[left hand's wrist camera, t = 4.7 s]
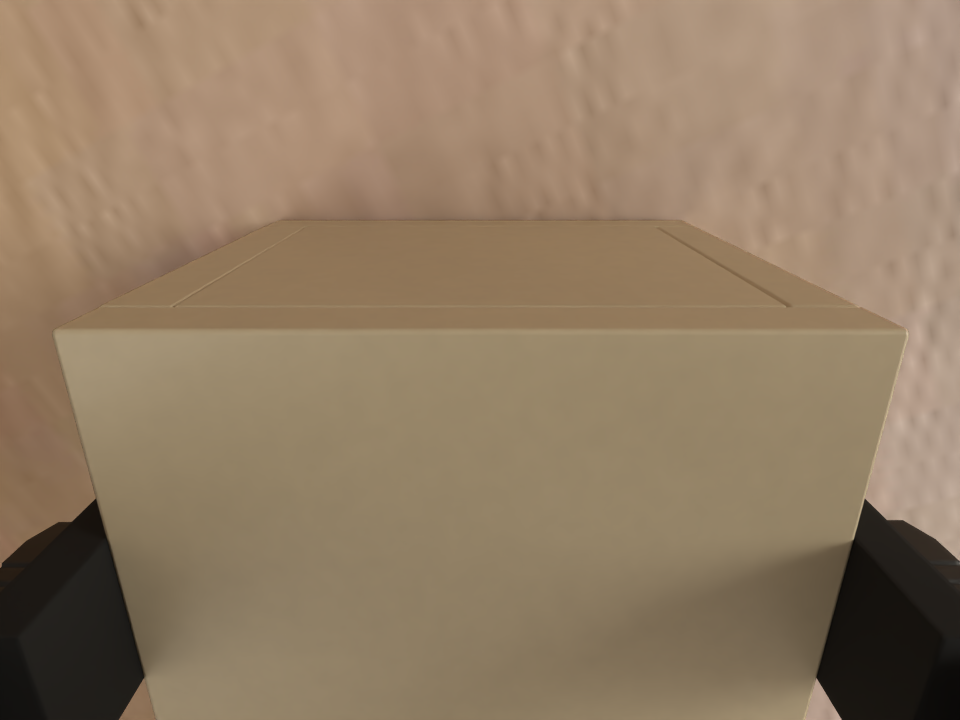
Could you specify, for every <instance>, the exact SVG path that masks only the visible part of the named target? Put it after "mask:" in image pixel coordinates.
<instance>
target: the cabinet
mask: <svg viewBox="0 0 960 720" xmlns="http://www.w3.org/2000/svg"><path fill="white" fill-rule="evenodd" d="M52 336H53V340H54V344H55V347H56V351H57V355H58V358H59V362H60V366H61V370H62V373H63V377H64V381H65V384H66V388H67V392H68V396H69V399H70V403H71V407H72V410H73V414H74V418H75V422H76V425H77V429H78V433H79V436H80V440H81V444H82V448H83V451H84V455H85V459H86V462H87V466H88V470H89V474H90V477H91V481H92V485H93V488H94V492H95V496H96V500H97V503H98V507H99V511H100V514H101V518H102V522H103V526H104V529H105V533H106V537H107V540H108V544H109V548H110V552H111V555H112V559H113V563H114V566H115V570H116V574H117V578H118V581H119V585H120V589H121V592H122V596H123V600H124V604H125V607H126V611H127V615H128V618H129V622H130V626H131V630H132V633H133V637H134V641H135V644H136V648H137V652H138V656H139V659H140V663H141V667H142V670H143V674H144V678H145V682H146V685H147V689H148V693H149V696H150V700H151V704H152V708H153V711H154V715H155V719H156V720H805V718H806V714H807V711H808V707H809V703H810V699H811V696H812V692H813V688H814V685H815V681H816V677H817V674H818V670H819V666H820V662H821V659H822V655H823V651H824V648H825V644H826V640H827V636H828V633H829V629H830V625H831V622H832V618H833V614H834V611H835V607H836V603H837V599H838V596H839V592H840V588H841V585H842V581H843V577H844V573H845V570H846V566H847V562H848V559H849V555H850V551H851V548H852V544H853V540H854V536H855V533H856V529H857V525H858V522H859V518H860V514H861V511H862V507H863V503H864V499H865V496H866V492H867V488H868V485H869V481H870V477H871V473H872V470H873V466H874V462H875V459H876V455H877V451H878V448H879V444H880V440H881V436H882V433H883V429H884V425H885V422H886V418H887V414H888V410H889V407H890V403H891V399H892V396H893V392H894V388H895V385H896V381H897V377H898V373H899V370H900V366H901V362H902V359H903V355H904V351H905V348H906V344H907V340H908V336H909V332H908V330H907V329H905V328H903V327H901V326H899V325H897V324H895V323H893V322H891V321H889V320H887V319H885V318H883V317H881V316H878V315H876V314H874V313H872V312H870V311H868V310H866V309H864V308H862V307H858V306H857V305H855V304H853V303H851V302H849V301H847V300H845V299H843V298H841V297H839V296H837V295H835V294H832V293H830V292H828V291H826V290H824V289H822V288H820V287H818V286H816V285H814V284H812V283H810V282H808V281H806V280H804V279H802V278H800V277H797V276H795V275H793V274H791V273H789V272H787V271H785V270H783V269H781V268H779V267H777V266H775V265H773V264H771V263H769V262H767V261H765V260H762V259H760V258H758V257H756V256H754V255H752V254H750V253H748V252H746V251H744V250H742V249H740V248H738V247H736V246H734V245H732V244H729V243H727V242H725V241H723V240H721V239H719V238H717V237H715V236H713V235H711V234H709V233H707V232H705V231H703V230H701V229H699V228H696V227H694V226H692V225H690V224H688V223H686V222H684V221H682V220H279V221H276V222H274V223H272V224H270V225H268V226H265V227H263V228H261V229H259V230H256V231H254V232H252V233H250V234H248V235H246V236H244V237H242V238H240V239H238V240H236V241H234V242H232V243H230V244H227V245H225V246H223V247H221V248H219V249H217V250H215V251H213V252H211V253H209V254H207V255H205V256H203V257H201V258H198V259H196V260H194V261H192V262H190V263H188V264H186V265H184V266H182V267H180V268H178V269H176V270H174V271H172V272H169V273H167V274H165V275H163V276H161V277H159V278H157V279H155V280H153V281H151V282H149V283H147V284H145V285H143V286H140V287H138V288H136V289H134V290H132V291H130V292H128V293H126V294H124V295H122V296H120V297H118V298H116V299H113V300H111V301H109V302H107V303H105V304H103V305H101V306H100V307H99V308H97V309H95V310H93V311H91V312H89V313H87V314H84V315H82V316H80V317H78V318H76V319H74V320H72V321H70V322H68V323H66V324H64V325H62V326H60V327H58V328H56V329H54V330H53V333H52Z"/></svg>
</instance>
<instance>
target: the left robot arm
mask: <svg viewBox="0 0 960 720" xmlns="http://www.w3.org/2000/svg"><path fill="white" fill-rule="evenodd" d="M816 678H817V679H818V681H819V683H820V684H821V686H822V687H823V689H824V691H825V692H826V694H827V696H828V697H829V699H830V701H831V702H832V704H833V706H834V707H835V709H836V711H837V712H838V714H839V716H840V717H841V719H842V720H960V561H959V560H958V559H956V558H955V557H954V556H953V555H952V554H951V553H950V552H949V551H948V550H947V549H945V548H944V547H943V546H942V545H941V544H940V543H939V542H938V541H937V540H936V539H934V538H932V537H931V536H929V535H927V534H925V533H924V532H922V531H920V530H919V529H917V528H915V527H913V526H912V525H910V524H908V523H907V522H905V521H903V520H886V519H885V518H884V517H883V516H882V515H881V514H880V513H879V512H878V511H877V510H876V509H875V508H874V507H873V506H872V505H871V504H870V503H869V502H868V501H867V500H866V499H864V503H863V507H862V511H861V514H860V518H859V522H858V525H857V529H856V533H855V536H854V540H853V544H852V548H851V551H850V555H849V559H848V562H847V566H846V570H845V573H844V577H843V581H842V585H841V588H840V592H839V596H838V599H837V603H836V607H835V611H834V614H833V618H832V622H831V625H830V629H829V633H828V636H827V640H826V644H825V648H824V651H823V655H822V659H821V662H820V666H819V670H818V674H817V677H816ZM143 679H144V674H143V670H142V667H141V663H140V659H139V656H138V652H137V648H136V644H135V641H134V637H133V633H132V630H131V626H130V622H129V618H128V615H127V611H126V607H125V604H124V600H123V596H122V592H121V589H120V585H119V581H118V578H117V574H116V570H115V566H114V563H113V559H112V555H111V552H110V548H109V544H108V540H107V537H106V533H105V529H104V526H103V522H102V518H101V514H100V511H99V507H98V503H97V500H96V499H95V500H94V501H93V502H92V503H91V504H90V505H89V506H88V507H87V508H86V509H85V510H84V511H83V512H82V513H81V514H80V515H79V516H78V517H77V518H76V519H75V520H73V521H72V522H58V523H56V524H55V525H53V526H51V527H50V528H48V529H46V530H44V531H43V532H41V533H39V534H38V535H36V536H34V537H32V538H31V539H29V540H27V541H26V542H25V543H24V544H23V545H21V546H20V547H19V548H18V549H17V550H16V551H15V552H14V553H13V554H12V555H11V556H9V557H8V558H7V559H6V560H5V561H4V562H3V563H2V567H1V568H0V720H119V718H120V717H121V715H122V713H123V712H124V710H125V708H126V707H127V705H128V703H129V702H130V700H131V698H132V697H133V695H134V693H135V692H136V690H137V689H138V687H139V685H140V684H141V682H142V680H143Z"/></svg>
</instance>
